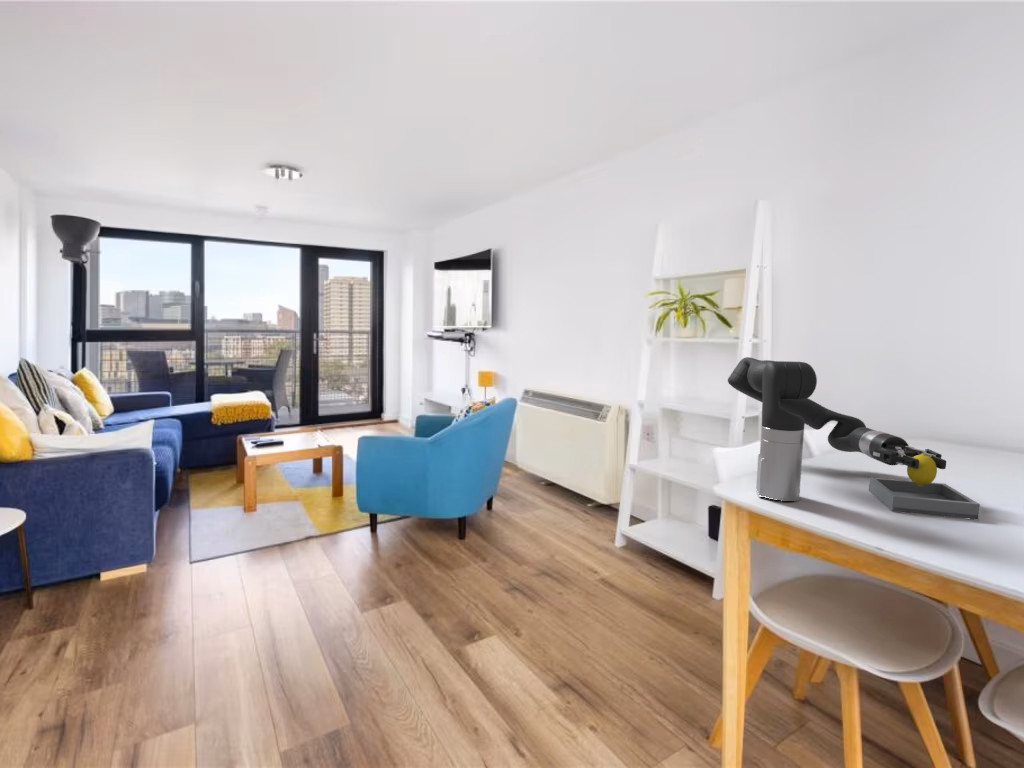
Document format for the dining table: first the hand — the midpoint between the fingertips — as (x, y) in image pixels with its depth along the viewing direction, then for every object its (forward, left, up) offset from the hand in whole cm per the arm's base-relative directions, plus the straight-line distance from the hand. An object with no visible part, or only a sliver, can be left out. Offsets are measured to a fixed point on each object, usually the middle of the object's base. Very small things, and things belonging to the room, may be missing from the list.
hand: (930, 464), depth 121 cm
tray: (-1, +2, -10) cm, 10 cm away
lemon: (-1, +3, -6) cm, 7 cm away
